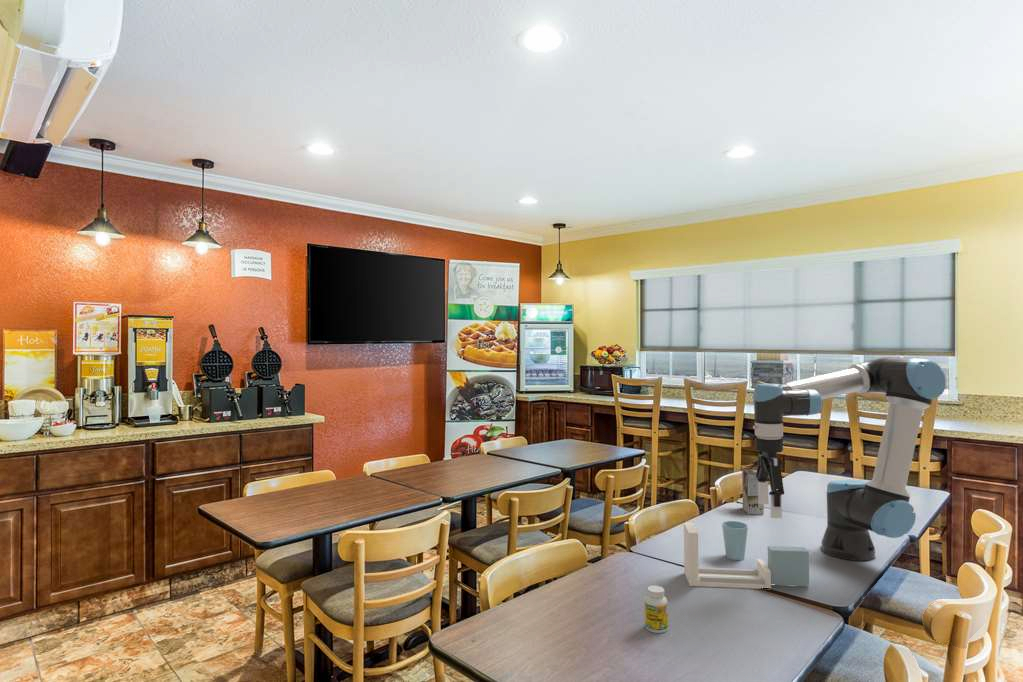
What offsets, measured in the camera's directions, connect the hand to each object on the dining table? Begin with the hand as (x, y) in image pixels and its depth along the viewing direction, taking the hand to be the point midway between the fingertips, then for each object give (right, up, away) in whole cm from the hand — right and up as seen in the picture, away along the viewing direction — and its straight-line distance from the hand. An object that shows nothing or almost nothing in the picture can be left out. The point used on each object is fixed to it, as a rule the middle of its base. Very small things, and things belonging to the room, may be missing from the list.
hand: (769, 510), depth 170 cm
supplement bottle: (-40, -21, -28) cm, 53 cm away
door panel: (+4, -20, -3) cm, 21 cm away
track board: (-13, -20, -1) cm, 24 cm away
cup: (-3, -20, +17) cm, 27 cm away
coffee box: (+22, -19, +65) cm, 72 cm away
